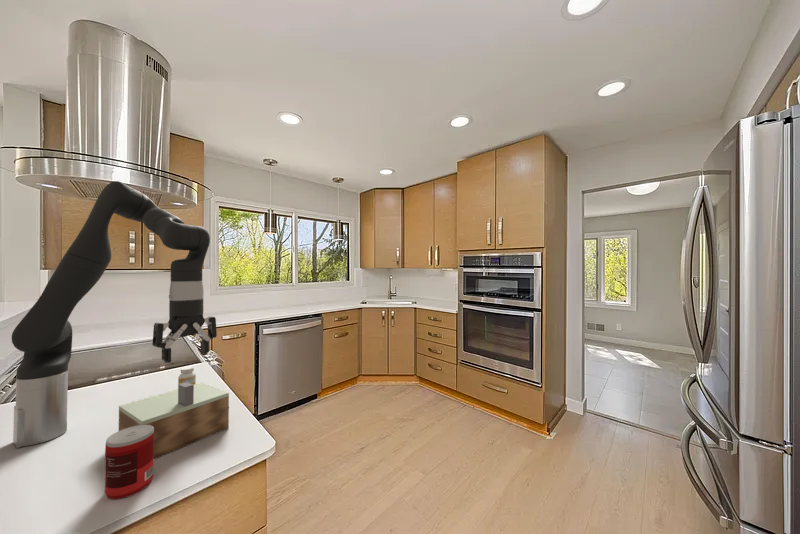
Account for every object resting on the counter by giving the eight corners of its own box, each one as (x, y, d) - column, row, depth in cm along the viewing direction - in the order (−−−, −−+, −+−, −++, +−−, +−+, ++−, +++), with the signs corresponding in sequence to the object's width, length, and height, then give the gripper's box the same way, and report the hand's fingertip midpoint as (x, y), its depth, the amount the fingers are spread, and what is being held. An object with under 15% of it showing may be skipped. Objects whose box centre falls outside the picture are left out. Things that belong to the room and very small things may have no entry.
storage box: (141, 465, 70) (142, 426, 70) (118, 444, 79) (118, 410, 79) (228, 427, 87) (228, 396, 87) (201, 414, 96) (201, 385, 96)
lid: (142, 425, 70) (142, 399, 71) (118, 409, 79) (119, 386, 79) (228, 396, 87) (228, 375, 87) (201, 385, 96) (202, 366, 96)
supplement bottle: (194, 395, 111) (194, 368, 112) (176, 397, 109) (177, 371, 109) (196, 390, 116) (196, 365, 116) (179, 392, 114) (179, 367, 114)
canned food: (148, 469, 69) (149, 420, 69) (157, 485, 63) (158, 432, 64) (101, 488, 63) (102, 434, 63) (107, 506, 58) (108, 448, 58)
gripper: (160, 300, 73) (160, 367, 73) (221, 296, 85) (221, 354, 85) (148, 299, 77) (148, 363, 77) (208, 295, 89) (208, 350, 89)
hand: (186, 358), depth 81 cm, fingers open, 8 cm apart
